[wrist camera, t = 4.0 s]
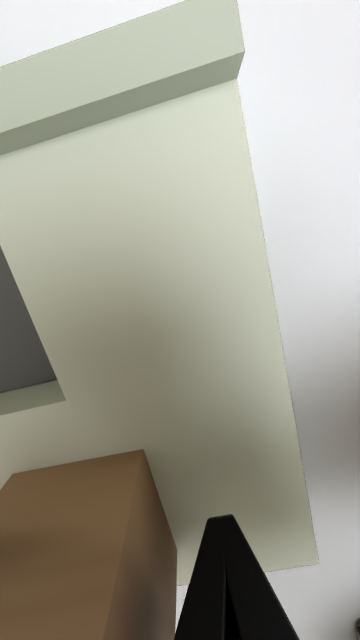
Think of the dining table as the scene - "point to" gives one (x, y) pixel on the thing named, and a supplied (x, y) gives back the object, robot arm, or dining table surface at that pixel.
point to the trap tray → (146, 279)
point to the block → (86, 553)
